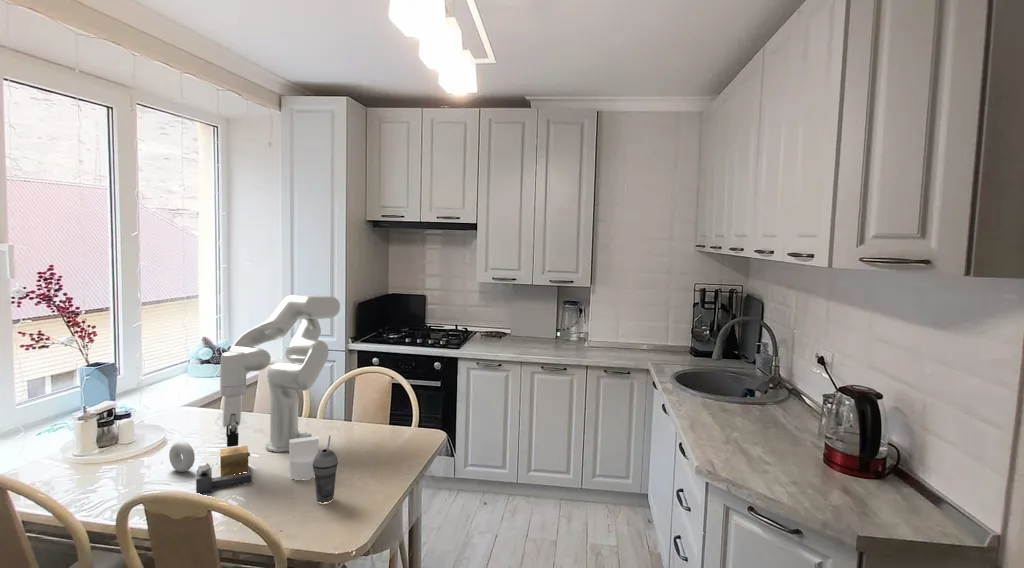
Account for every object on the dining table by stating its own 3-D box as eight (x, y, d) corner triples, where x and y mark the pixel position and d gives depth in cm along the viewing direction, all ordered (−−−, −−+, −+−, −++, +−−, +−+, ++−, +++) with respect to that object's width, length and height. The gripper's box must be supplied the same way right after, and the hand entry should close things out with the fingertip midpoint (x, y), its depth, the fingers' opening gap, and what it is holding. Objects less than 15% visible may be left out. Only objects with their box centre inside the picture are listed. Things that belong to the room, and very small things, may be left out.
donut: (197, 472, 174) (197, 442, 173) (187, 476, 170) (186, 446, 170) (177, 466, 178) (176, 437, 177) (166, 470, 174) (166, 440, 174)
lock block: (249, 465, 180) (249, 445, 180) (250, 472, 175) (250, 451, 174) (220, 469, 176) (220, 449, 175) (220, 477, 171) (220, 456, 170)
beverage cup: (316, 495, 161) (316, 431, 160) (340, 494, 162) (341, 431, 160) (309, 507, 154) (309, 440, 152) (334, 506, 155) (335, 440, 153)
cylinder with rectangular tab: (290, 482, 169) (290, 446, 168) (288, 471, 177) (288, 436, 176) (320, 477, 173) (320, 442, 172) (316, 467, 181) (316, 432, 180)
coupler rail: (250, 476, 172) (250, 452, 171) (252, 485, 166) (251, 460, 165) (196, 485, 165) (196, 460, 164) (196, 495, 158) (195, 468, 158)
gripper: (219, 384, 179) (218, 434, 179) (220, 397, 163) (219, 451, 164) (244, 382, 182) (243, 431, 183) (247, 395, 167) (246, 448, 168)
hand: (232, 441), depth 174 cm, fingers open, 9 cm apart
